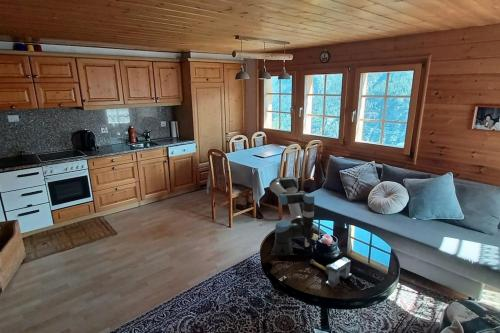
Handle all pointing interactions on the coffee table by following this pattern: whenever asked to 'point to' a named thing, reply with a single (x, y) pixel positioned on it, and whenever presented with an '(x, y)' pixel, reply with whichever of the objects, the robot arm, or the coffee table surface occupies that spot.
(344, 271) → the housing
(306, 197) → the robot arm
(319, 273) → the coffee table surface
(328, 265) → the yellow handled grey mallet
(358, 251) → the coffee table surface
